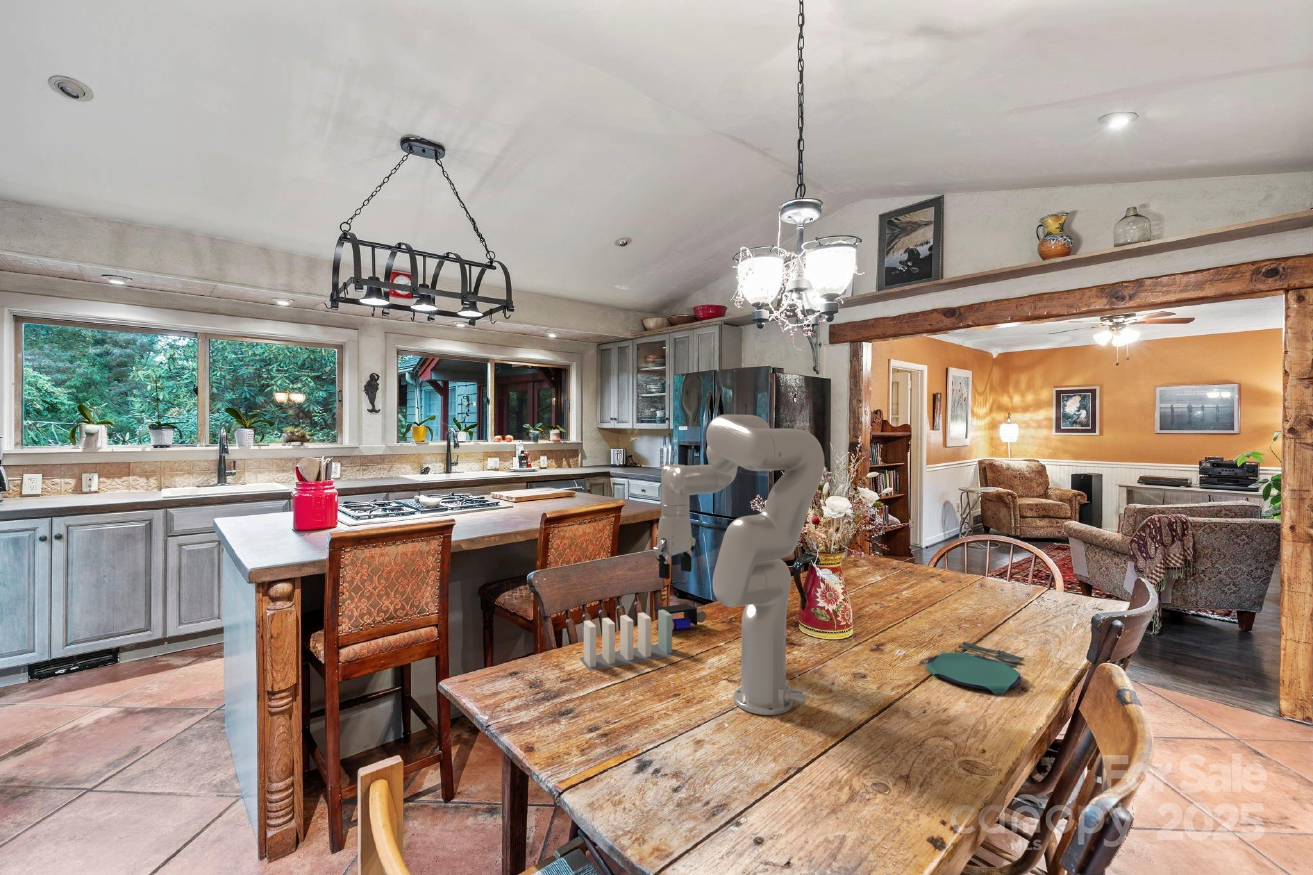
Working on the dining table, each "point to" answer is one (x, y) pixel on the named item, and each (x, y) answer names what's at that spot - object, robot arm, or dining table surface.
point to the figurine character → (689, 616)
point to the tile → (665, 631)
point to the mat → (620, 660)
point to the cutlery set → (977, 669)
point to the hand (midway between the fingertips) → (675, 574)
